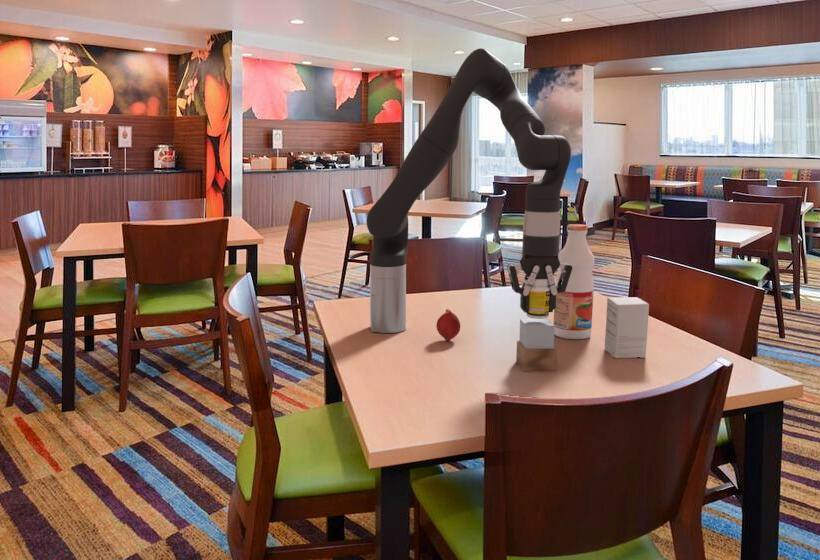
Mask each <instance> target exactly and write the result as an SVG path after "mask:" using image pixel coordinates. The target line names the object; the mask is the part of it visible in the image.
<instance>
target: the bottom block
mask: <svg viewBox="0 0 820 560" xmlns="http://www.w3.org/2000/svg"><path fill="white" fill-rule="evenodd" d="M558 352H559V351H558V348H557V347H556V346H555V345H554V348H549V349H525V347H524V346H523V345H522V344H521V342H520V341H519V340H516V354H515V355H516V356H515V357H516V359H515V361H516V363H517V364H518V366H519V367H520V368H521V369H522V371H523V372H524V373H532V372H533V373H538V372H541V373H542V372H557V371H558Z"/></svg>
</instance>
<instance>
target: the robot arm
mask: <svg viewBox="0 0 820 560" xmlns="http://www.w3.org/2000/svg"><path fill="white" fill-rule="evenodd" d="M514 79H515V78H513V75H512V73H511V71H510V69H509V67H508V66H507V65H506V64H505V63H504V62H502V61H501V60H500V59H499V58H498V57H496V56H495V55H493V53H491V52H490V51H488V50H487V49H485V48H480V47H479V48H476V49H474V50H473V51H472V52H471V53H469V54H468V56H466V58H465V59H464V61H463V62H462V64H461V66H460V67H459V69H458V71H457V73H456V74H455V76H454V78H453V80H452V82H451V84H450V85H449V88H448V90H447V91H446V93H445V95H444V97H443V98H442V100H441V102H440V104H439V106H438V107H437V108H436V110H435V111H434V113H433V115H432V117H431V118H430V120H429V121H428V123H427V124H426V126H425V127H424V128H423V130H422V131H421V133H420V134H419V136H418V137H417V139H416V140H415V142H414V144H413V145H412V146H411V148H410V150H409V152H408V154H407V155H406V157H405V158H404V160H403V162H402V163H401V166H400V167H399V170H398V171H397V173H396V175H395V177H394V178H393V180H392V181H391V183H390V184H389V186H388V187H387V188H386V190H385V191H384V192H383V193H382V195H381V196H380V197H379V199H377V201H376V202H375V203H374V204H373V206H372V207H371V208H370V209H369V211H368V213H367V217H366V226H367V230H368V232H369V234H370V235H371V236H372V237H373V238H372V247H371V252H370V254H369V270H370V271H369V274H370V275H369V277H370V278H369V279H370V281H369V283H370V286H369V288H370V291H369V322H370V324H369V325H370V332H371V333H382V334H394V333H399V332H403V331H405V330H406V329H407V325H406V324H407V302H406V301H407V256H408V251H409V250H408V249H409V216H408V214H409V212H410V210H411V209H412V207H413V205H414V203H415V202H416V200H417V199H418V198H419V197H420V196H421V194H422V193H423V192H424V191H425V190H426V189H427V188H428V187H429V186H430V185H431V184H432V182H434V180H435V179H436V178H437V177H438V176H439V174H440V173H441V172H442V171H443V170H444V168H445V166H446V165H447V164H448V162H449V161H450V160H451V158H452V156H453V155H454V153H455V152H456V150H457V147H458V144H459V137H460V127H461V118H462V113H463V111H464V108H465V106H466V103H468V100H469V99H470V97H471V95H472V94H473V92H474V93H475V94H476V95H477V96H479V97H480V98H483V99H485V100H486V101H488V102H489V103H491V104H492V105H494V107H496V108H497V109H498V111H499V116H500V120H501V123H502V125H503V127H504V128H505V130H506V131H507V133H508V134H509V136H510V137H511V138H512V140H513V142H514V145H515V149H516V154H517V158H518V161H519V164H521V166H522V167H524V168H525V169H527V170H531V171H545V172H544V174H543V176H542V178H541V179H540V180H538V181H537V180H536V181H533V182H530V183H529V184H527V186H526V188H525V206H524V207H525V208H524V209H525V210H524V216H523V223H522V224H523V225H522V251H521V253H522V254H521V255H522V256H521V259H520V261H519V262H518V263H515V264H512V263H508V264H507V265H506V269H507V272H508V276H509V281H510V285H511V289H512V291H514V292H515V293H516V294H519V295H520V299H519V300H520V301H519V302H520V304H519V306H520V307H519V308H520V309H521V310H522V311H523V313H528V311H529V296H528V294H529V291H530V288H531V286H532V285H533V283H534V280H535V279H548V283H549V284H548V287H549V288H550V298H549V313H554V309H555V308H556V295H557V294H558V293H560V292H565V290H566V287H567V284H568V281H569V278H570V275H571V271H572V266H571V265H569V264H567V263H565V264H564V263H560V261H559V259H558V254H559V253H560V232H561V231H560V230H561V218H560V217H561V216H560V205H561V203H560V201H561V190H562V188H563V185H564V181H565V179H566V178H565V177H566V174H567V171H568V168H569V166H570V163H571V156H572V149H571V145H570V143H569V141H568V139H567V138H566V137H564V136H563V135H558V134H557V135H556V134H550V135H549V134H547V135H545V132H546V126H545V124H544V122H543V120H542V119H541V117H539V115H538V114H537V112H536V111H535V110H534V108H532V107H531V105H530V104H529V103H528V102H527V100H526V99H525V97H524V96H523V95H522V93H521V91H520V89H519V88H518V87H517V84H516V82H515V80H514ZM558 268H560V272H561V275H560V278H559V281H558V284H557V286H556V285H555V282H556V279H555V277H554V275H555V273H556V272H557V271H558ZM520 269H521V270H522V271H523V273H524V277H523V279H522V285H521V286H520V283H519V278H518V275H519V274H520Z"/></svg>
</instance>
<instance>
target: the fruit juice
mask: <svg viewBox="0 0 820 560" xmlns="http://www.w3.org/2000/svg"><path fill="white" fill-rule="evenodd" d="M588 227H589V226H588V225H587V224H581V223H574V224H572V223H571V224H567V226H566V232H567V239H566V242H565V245H564V246H563V248H562V249H561V250H560V251H559V254H558V259H559V261H560V263H564V264H565V263H567V264H569V265H571V266H572V271H571V275H570V278H569V281H568V284H567V287H566V290H565V292H560V293H558V294H557V295H556V308H555V309H553V323H552V324H553V325H555V330H554V336H556V337H558V338H561V339H566V340H585V339H588V338H590V337H591V334H592V328H593V327H592V326H593V325H592V324H593V308H594V307H593V306H594V305H593V304H594V293H595V292H594V291H595V289H594V288H595V280H594V279H595V278H594V276H593V271H594V266H595V263H596V262H595V259H596V258H595V256H594V254H593V252H592V251H591V249H590V248H589V245H588V241H587V233H588V229H589V228H588ZM557 271H558V272H557V274H556V277H555V285H556V286H557V284H558V281H559V278H560V275H561V272H560V268H558V269H557Z"/></svg>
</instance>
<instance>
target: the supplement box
mask: <svg viewBox="0 0 820 560" xmlns="http://www.w3.org/2000/svg"><path fill="white" fill-rule="evenodd" d="M606 300H607V301H606V302H607V303H606V319H605V333H604V334H605V335H604V350H606V351H607V353H608V354H610V355H611V356H612V355H613V356H614V357H615V359H619V358H620V359H623V358H624V359H626V358H627V359H629V358H630V359H634V358H635V359H636V358H637V357H640V358H646V356H647V341H648V327H649V326H648V325H649V312H650V304H649V303H648V302H647V301H644V300H643V299H642V298H640V297H637V296H634V297H633V296H632V297H631V296H630V297H627V296H626V297H624V296H623V297H607V299H606ZM613 356H612V357H613ZM614 357H613V358H614Z"/></svg>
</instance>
